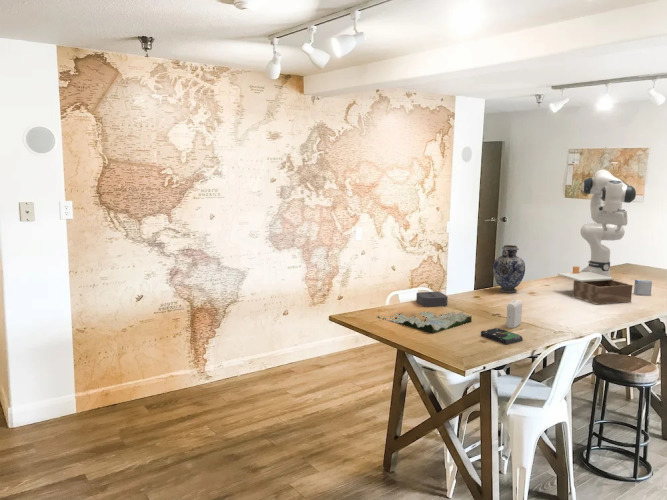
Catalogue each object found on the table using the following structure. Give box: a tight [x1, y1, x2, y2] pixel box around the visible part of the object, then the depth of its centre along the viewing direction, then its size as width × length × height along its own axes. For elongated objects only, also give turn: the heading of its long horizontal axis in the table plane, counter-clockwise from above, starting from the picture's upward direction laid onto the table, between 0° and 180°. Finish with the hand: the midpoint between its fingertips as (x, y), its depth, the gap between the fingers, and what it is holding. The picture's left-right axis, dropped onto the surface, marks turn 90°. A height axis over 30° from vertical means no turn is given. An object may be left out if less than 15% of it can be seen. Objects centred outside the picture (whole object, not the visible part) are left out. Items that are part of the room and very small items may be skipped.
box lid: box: [557, 265, 615, 282], centre depth 313 cm, size 20×22×5 cm
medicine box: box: [633, 279, 653, 296], centre depth 313 cm, size 8×4×9 cm, turn 84°
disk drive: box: [480, 327, 523, 346], centre depth 232 cm, size 10×3×15 cm
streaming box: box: [415, 291, 449, 308], centre depth 293 cm, size 14×14×5 cm
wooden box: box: [572, 279, 633, 306], centre depth 301 cm, size 20×22×10 cm
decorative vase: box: [492, 244, 526, 294], centre depth 321 cm, size 21×19×28 cm
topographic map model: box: [376, 311, 472, 335], centre depth 261 cm, size 36×29×5 cm
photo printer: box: [506, 299, 523, 329], centre depth 250 cm, size 10×4×12 cm, turn 140°
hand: (611, 231), depth 311 cm, fingers open, 8 cm apart
